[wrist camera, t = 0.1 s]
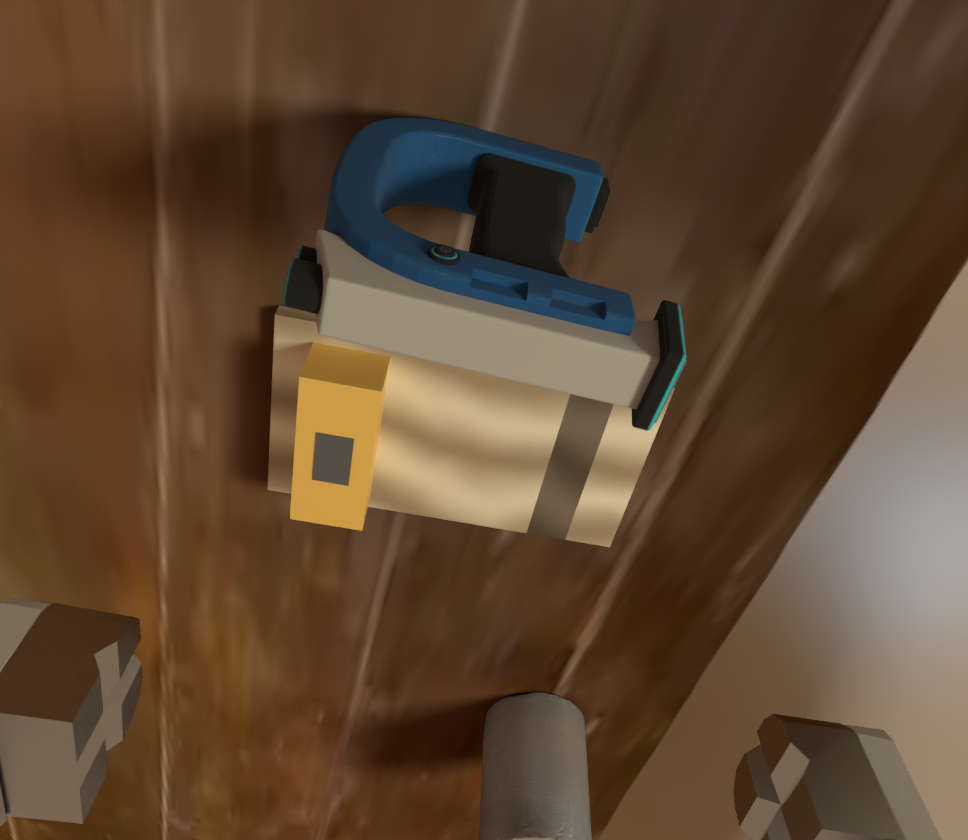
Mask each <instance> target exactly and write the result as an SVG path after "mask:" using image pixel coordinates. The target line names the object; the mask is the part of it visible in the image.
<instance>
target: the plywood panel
mask: <svg viewBox="0 0 968 840" xmlns="http://www.w3.org/2000/svg"><path fill="white" fill-rule="evenodd" d="M313 342H316V343H321V344H327V345H332V346H337V347H343V348H348V349H354V350H359V351H365V352H370V353H376V354H381V355H386V356H391V358H390V364H389V371H388V378H387V385H386V392H385V399H384V406H383V413H382V419H381V426H380V433H379V440H378V447H377V454H376V461H375V468H374V474H373V481H372V488H371V494H370V498H369V503H368V507H373V508H379V509H385V510H391V511H397V512H403V513H409V514H415V515H421V516H427V517H433V518H439V519H445V520H451V521H457V522H463V523H469V524H475V525H481V526H487V527H493V528H499V529H505V530H510V531H516V532H522V533H528V534H534V535H540V536H546V537H552V538H558V539H564V540H570V541H576V542H582V543H588V544H594V545H600V546H606V547H610V546H611V543H612V541H613V538H614V536H615V533H616V531H617V529H618V526H619V524H620V521H621V519H622V516H623V514H624V511H625V509H626V507H627V504H628V502H629V499H630V497H631V494H632V492H633V489H634V487H635V485H636V482H637V480H638V477H639V475H640V472H641V470H642V467H643V465H644V463H645V460H646V458H647V455H648V453H649V450H650V448H651V445H652V443H653V441H654V438H655V436H656V433H657V431H658V428H659V426H660V423H661V421H662V419H663V416H664V414H665V411H666V409H667V406H668V404H669V401H670V399H671V397H672V394H673V392H674V389H675V388H673V390H672V392H671V394H670V396H669V398H668V400H667V402H666V404H665V406H664V408H663V410H662V412H661V414H660V416H659V418H658V420H657V422H656V423H655V424H653V426H652V428H651V429H650V430H649V431H646V430H642V429H639V428H635V427H633V426H632V408H628V407H623V406H619V405H615V404H611V403H606V402H602V401H598V400H593V399H589V398H585V397H581V396H576V395H572V394H568V393H564V392H559V391H555V390H551V389H547V388H542V387H538V386H534V385H530V384H525V383H521V382H517V381H513V380H508V379H504V378H500V377H496V376H491V375H487V374H483V373H479V372H474V371H470V370H466V369H462V368H457V367H453V366H449V365H445V364H440V363H436V362H432V361H428V360H423V359H419V358H415V357H411V356H406V355H402V354H398V353H394V352H390V351H385V350H381V349H377V348H373V347H369V346H364V345H360V344H356V343H352V342H348V341H344V340H339V339H335V338H331V337H327V336H323V335H320V334H319V333H318V329H317V324H316V318H315V313H310V312H306V311H302V310H298V309H294V308H290V307H285V306H281V305H279V307H278V309H277V311H276V313H275V321H274V346H273V370H272V395H271V419H270V444H269V468H268V490H272V491H278V492H284V493H290V494H292V479H293V464H294V449H295V433H296V418H297V403H298V387H299V376H300V374H301V371H302V369H303V366H304V364H305V361H306V359H307V356H308V354H309V351H310V349H311V346H312V344H313Z"/></svg>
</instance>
